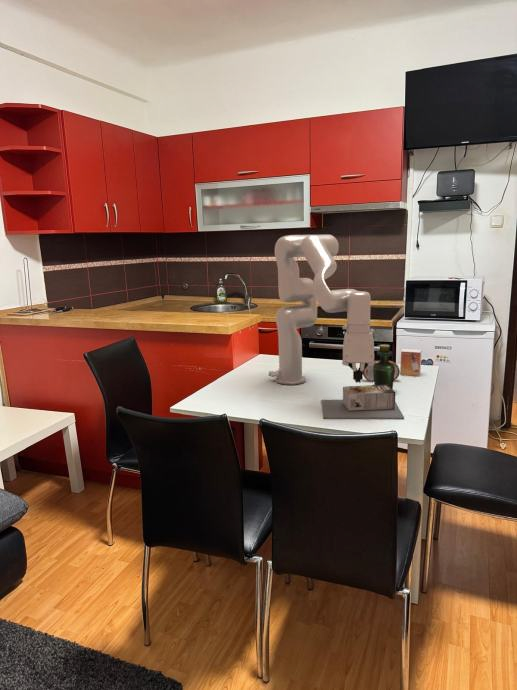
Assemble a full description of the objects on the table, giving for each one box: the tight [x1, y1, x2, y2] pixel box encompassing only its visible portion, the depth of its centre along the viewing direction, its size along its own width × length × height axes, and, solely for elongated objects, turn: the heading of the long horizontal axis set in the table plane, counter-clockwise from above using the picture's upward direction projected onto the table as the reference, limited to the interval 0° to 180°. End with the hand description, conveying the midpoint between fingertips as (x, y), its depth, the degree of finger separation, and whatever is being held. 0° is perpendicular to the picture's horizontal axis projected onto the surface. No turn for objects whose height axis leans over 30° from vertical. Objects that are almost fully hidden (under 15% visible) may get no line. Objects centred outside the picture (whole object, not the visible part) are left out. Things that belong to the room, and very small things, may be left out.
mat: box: [321, 399, 405, 420], centre depth 169 cm, size 26×18×1 cm
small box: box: [399, 348, 422, 377], centre depth 209 cm, size 8×6×10 cm
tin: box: [363, 360, 400, 382], centre depth 201 cm, size 15×3×8 cm, turn 84°
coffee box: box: [342, 384, 396, 411], centre depth 170 cm, size 9×6×16 cm
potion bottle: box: [373, 343, 395, 390], centre depth 187 cm, size 8×8×18 cm
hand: (357, 381), depth 167 cm, fingers closed
